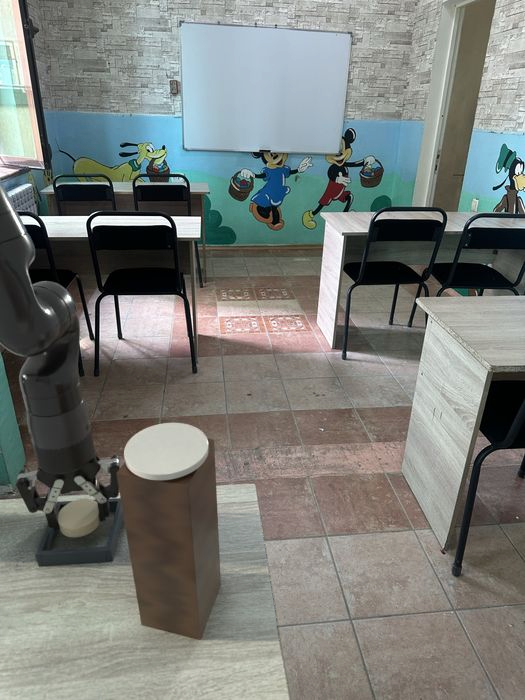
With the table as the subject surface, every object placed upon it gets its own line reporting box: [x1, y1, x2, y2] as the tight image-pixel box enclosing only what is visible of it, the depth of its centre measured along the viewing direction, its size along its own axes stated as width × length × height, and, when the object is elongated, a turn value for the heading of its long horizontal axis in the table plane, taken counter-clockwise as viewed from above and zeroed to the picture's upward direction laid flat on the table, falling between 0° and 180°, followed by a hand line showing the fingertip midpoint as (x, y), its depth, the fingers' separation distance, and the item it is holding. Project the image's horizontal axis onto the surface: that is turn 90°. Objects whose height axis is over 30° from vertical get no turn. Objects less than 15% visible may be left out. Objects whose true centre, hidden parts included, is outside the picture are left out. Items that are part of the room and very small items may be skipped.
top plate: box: [58, 498, 102, 538], centre depth 72 cm, size 6×6×2 cm
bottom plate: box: [123, 422, 209, 480], centre depth 52 cm, size 9×9×1 cm
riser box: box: [116, 437, 222, 641], centre depth 58 cm, size 8×8×26 cm
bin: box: [35, 497, 124, 568], centre depth 73 cm, size 10×10×4 cm
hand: (80, 521), depth 72 cm, fingers closed on top plate, 6 cm apart
